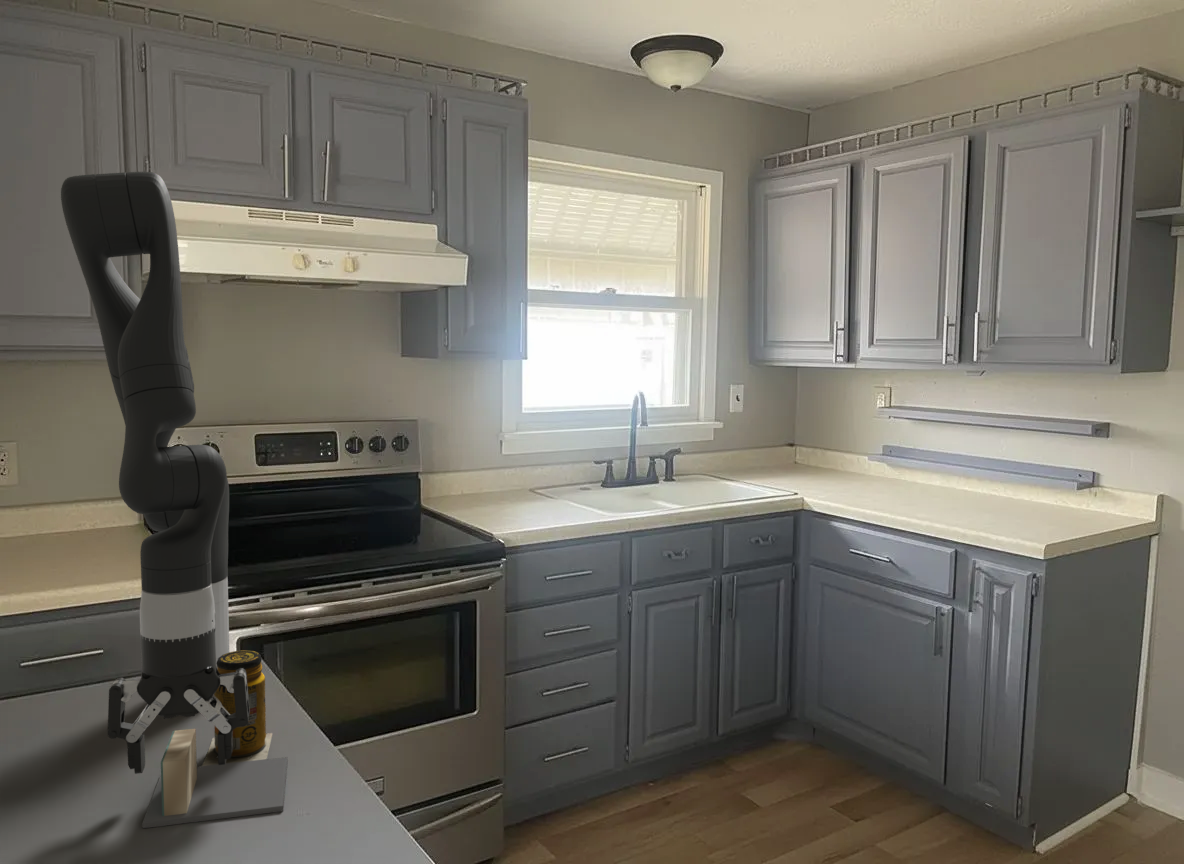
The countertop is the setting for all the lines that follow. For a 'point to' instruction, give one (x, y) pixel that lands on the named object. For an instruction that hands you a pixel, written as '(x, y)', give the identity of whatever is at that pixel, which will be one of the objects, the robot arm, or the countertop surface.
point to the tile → (178, 772)
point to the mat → (227, 792)
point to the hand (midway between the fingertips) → (182, 766)
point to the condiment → (253, 734)
